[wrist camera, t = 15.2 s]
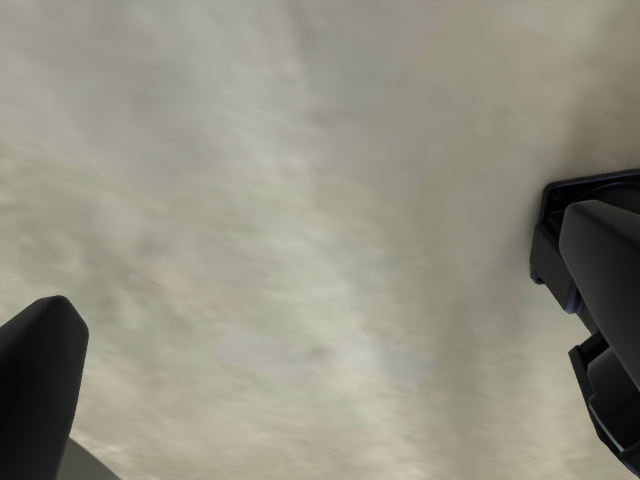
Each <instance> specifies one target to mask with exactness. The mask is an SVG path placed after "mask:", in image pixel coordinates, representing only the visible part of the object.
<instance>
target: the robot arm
mask: <svg viewBox="0 0 640 480" xmlns="http://www.w3.org/2000/svg"><path fill="white" fill-rule="evenodd" d="M557 190H558V192H557V193H556V194H554V195H552V194H553V192H555V191H557ZM530 263H531V264H532V267H531V273H530V277H531V279H532V280H533V282H534V283H535V284H538V285H541V284H546V286H547V287H548V288H549V290H550V291H551V293H552V294H553V296H554V297H555V298H556V300H557V301H558V303H559V304H560V305H561V307H562V308H563V310H564V311H566V312H567V313H568V314H572V313H576V314H577V315H578V317H579V318H580V319H581V321H582V322H583V323H584V325H585V326H586V327H587V329H588V330H589V332H590V333H591V334H592V336H590V337H589V338H588V339H587V340H586V341H584V342H583V343H582V344H581V345H576V346H575V347H574V348H573V349H571V350H570V351H569V352H568V354H569V357H570V360H571V363H572V366H573V369H574V371H575V374H576V377H577V380H578V383H579V386H580V389H581V392H582V395H583V397H584V400H585V403H586V406H587V409H588V412H589V415H590V418H591V420H592V422H593V425H594V427H595V430H596V433H597V435H598V437H599V438H600V440H601V441H602V442H603V443H604V444H605V445H606V446H607V447H608V448H609V449H610V450H611V452H612V453H613V454H614V455H615V456H616V457H617V458H618V459H619V461H620V462H621V463H623V464H624V465H625V466H626V467H627V468H628V469H629V470H630V471H631V472H632V473H633V474H635V475H636V476H637V477H638V478H640V168H639V169H632V170H626V171H620V172H614V173H608V174H601V175H595V176H589V177H583V178H576V179H570V180H564V181H558V182H553V183H550V184H549V185H547V186H546V187H545V189H544V191H543V196H542V202H541V209H540V215H539V222H538V223H537V224H536V226H535V229H534V236H533V243H532V249H531V256H530ZM539 276H540V277H539ZM88 339H89V331H88V327H87V325H86V323H85V322H84V320H83V319H82V318H81V316H80V315H79V313H78V312H77V311H76V309H75V308H74V307H73V305H72V304H71V302H70V301H69V300H68V299H67V298H66V297H64V296H61V295H57V296H51V297H46V298H41V299H38V300H36V301H35V302H33V303H32V304H31V305H29V306H28V307H27V308H25V309H24V310H23V311H21V312H20V313H19V314H17V315H16V316H15V317H13V318H12V319H11V320H9V321H8V322H7V323H5V324H4V325H3V326H1V327H0V480H56V479H57V476H58V472H59V469H60V465H61V462H62V458H63V455H64V451H65V448H66V445H67V441H68V438H69V434H70V431H71V427H72V423H73V419H74V416H75V411H76V406H77V402H78V396H79V390H80V385H81V379H82V373H83V368H84V362H85V356H86V351H87V345H88Z"/></svg>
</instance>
